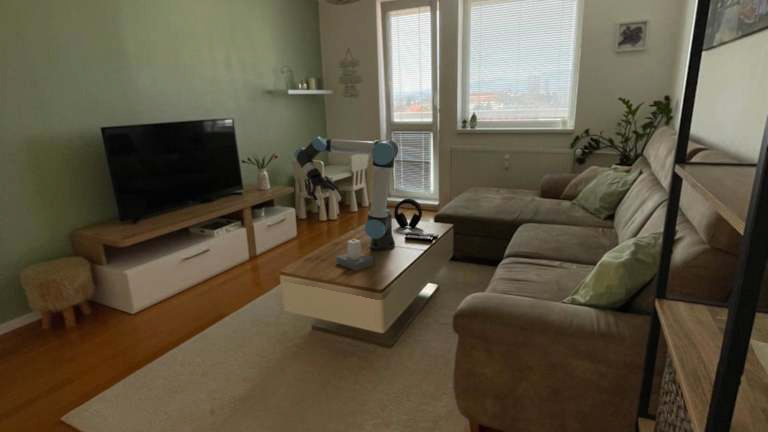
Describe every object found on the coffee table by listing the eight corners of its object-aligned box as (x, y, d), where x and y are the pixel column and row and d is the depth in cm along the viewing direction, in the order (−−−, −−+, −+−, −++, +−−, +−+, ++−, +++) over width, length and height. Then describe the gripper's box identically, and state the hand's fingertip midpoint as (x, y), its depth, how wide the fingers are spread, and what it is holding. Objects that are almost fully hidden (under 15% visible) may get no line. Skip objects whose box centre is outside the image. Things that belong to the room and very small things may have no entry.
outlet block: (336, 263, 232) (336, 256, 231) (353, 257, 240) (353, 251, 239) (356, 270, 221) (356, 263, 220) (373, 264, 229) (373, 257, 228)
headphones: (394, 228, 295) (393, 200, 290) (396, 225, 301) (396, 198, 296) (420, 229, 290) (420, 201, 285) (422, 227, 296) (422, 199, 291)
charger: (348, 262, 230) (347, 240, 227) (355, 259, 233) (354, 238, 230) (354, 264, 227) (353, 242, 223) (361, 261, 230) (360, 240, 227)
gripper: (326, 173, 248) (344, 202, 242) (290, 179, 231) (309, 210, 224) (332, 165, 243) (350, 194, 237) (295, 170, 226) (314, 202, 219)
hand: (330, 202), depth 231 cm, fingers open, 13 cm apart
